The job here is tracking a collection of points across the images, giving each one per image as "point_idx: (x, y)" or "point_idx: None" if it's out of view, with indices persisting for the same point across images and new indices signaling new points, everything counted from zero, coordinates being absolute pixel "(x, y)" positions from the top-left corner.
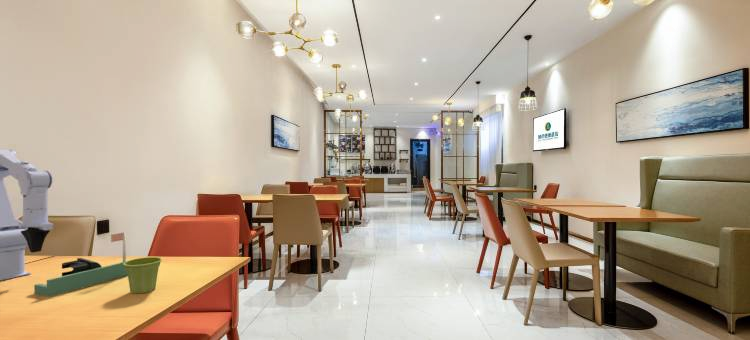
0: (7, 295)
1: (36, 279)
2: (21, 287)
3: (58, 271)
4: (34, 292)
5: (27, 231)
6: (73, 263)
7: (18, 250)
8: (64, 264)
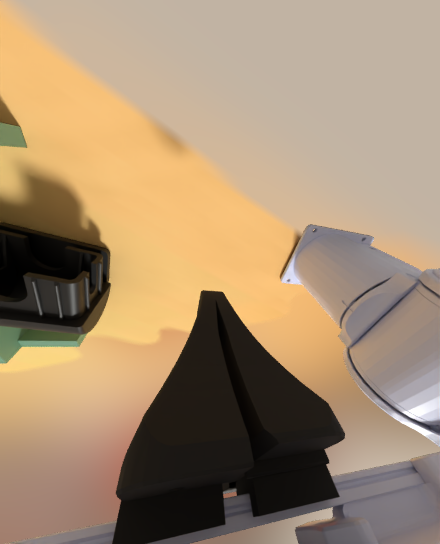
0: (96, 80)
1: (221, 255)
2: (174, 186)
3: (238, 306)
4: (14, 125)
5: (172, 466)
6: (29, 294)
7: (342, 312)
8: (42, 277)
